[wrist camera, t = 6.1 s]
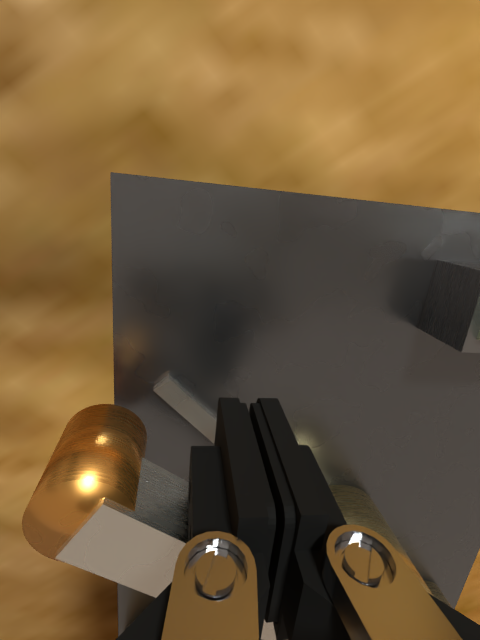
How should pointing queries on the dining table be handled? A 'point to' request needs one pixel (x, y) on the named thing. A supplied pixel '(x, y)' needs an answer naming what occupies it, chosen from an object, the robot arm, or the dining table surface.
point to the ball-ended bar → (133, 505)
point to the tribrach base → (309, 345)
